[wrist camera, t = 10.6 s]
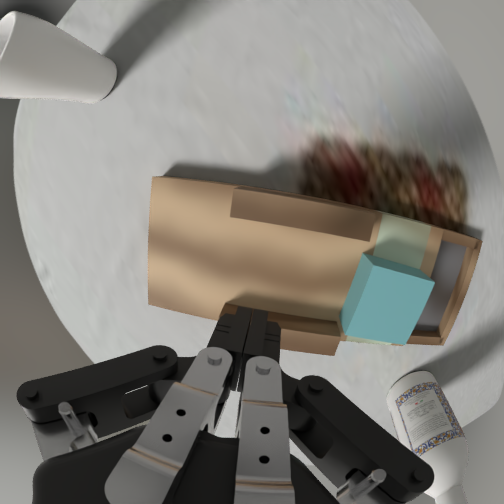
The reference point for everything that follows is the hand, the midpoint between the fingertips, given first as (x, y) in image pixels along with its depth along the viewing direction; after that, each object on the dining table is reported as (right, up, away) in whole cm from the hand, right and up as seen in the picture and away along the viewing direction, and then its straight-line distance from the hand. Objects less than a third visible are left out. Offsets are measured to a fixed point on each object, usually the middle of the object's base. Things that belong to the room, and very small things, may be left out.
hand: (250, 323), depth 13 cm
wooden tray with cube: (+7, +2, +10) cm, 12 cm away
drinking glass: (-16, +21, +8) cm, 28 cm away
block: (+11, 0, +8) cm, 14 cm away
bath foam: (+20, -14, +14) cm, 28 cm away
